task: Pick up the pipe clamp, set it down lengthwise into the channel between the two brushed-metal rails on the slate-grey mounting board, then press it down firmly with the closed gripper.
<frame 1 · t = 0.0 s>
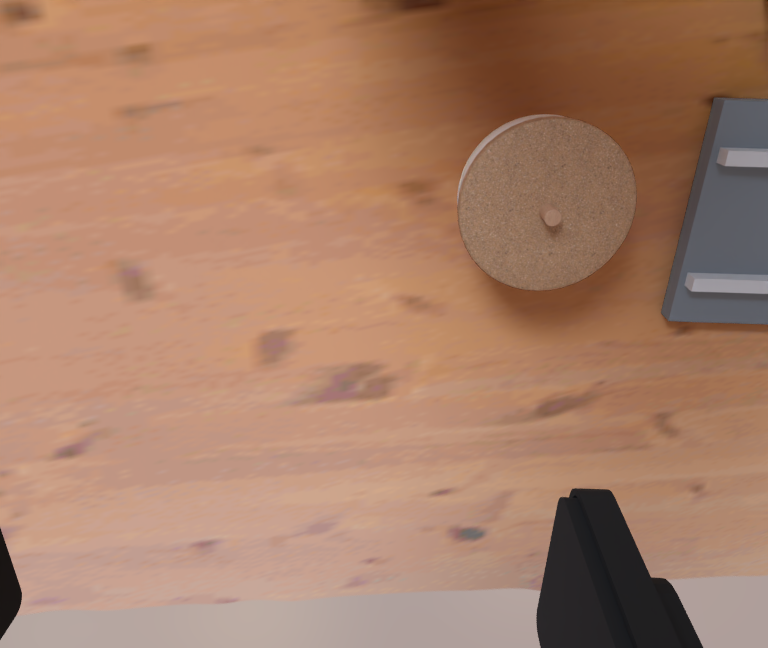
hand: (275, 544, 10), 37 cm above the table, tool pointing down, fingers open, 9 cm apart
lidded jar: (523, 180, 44), on the table
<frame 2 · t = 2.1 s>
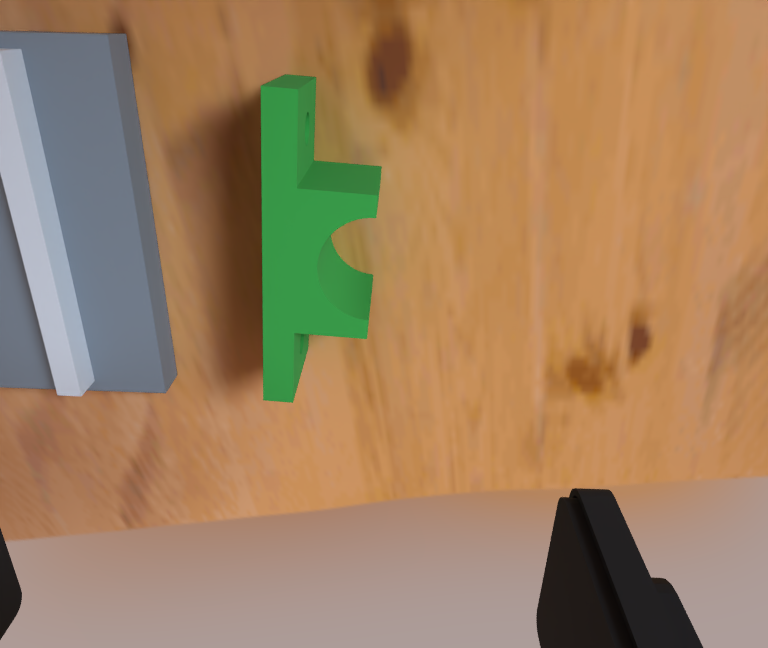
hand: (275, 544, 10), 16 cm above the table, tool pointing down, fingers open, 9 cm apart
pipe clamp: (328, 227, 25), on the table
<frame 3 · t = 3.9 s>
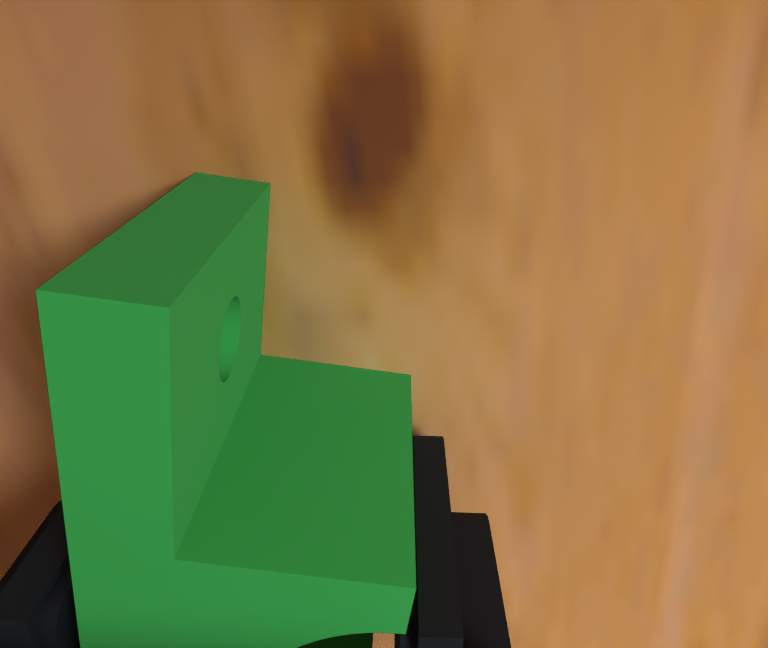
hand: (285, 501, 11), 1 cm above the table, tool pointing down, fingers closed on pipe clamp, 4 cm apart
pipe clamp: (287, 473, 12), on the table, touching gripper
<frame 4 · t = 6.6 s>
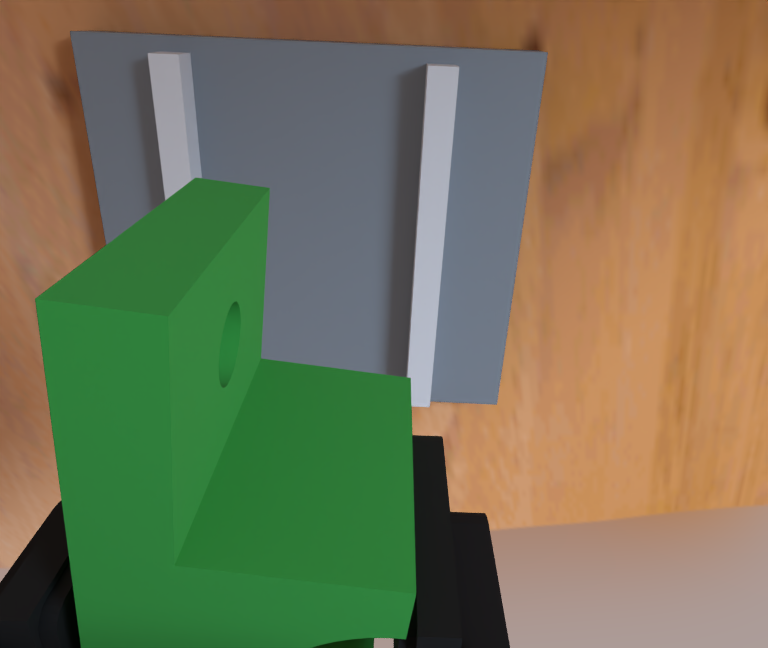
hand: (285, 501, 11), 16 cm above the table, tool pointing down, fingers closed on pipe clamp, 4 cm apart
rail board: (315, 230, 25), on the table
pipe clamp: (288, 476, 12), point 15 cm above the table, touching gripper
when the fingers open (4 cm above the table, at t = 9.2 s): pipe clamp drops 1 cm, resting on rail board.
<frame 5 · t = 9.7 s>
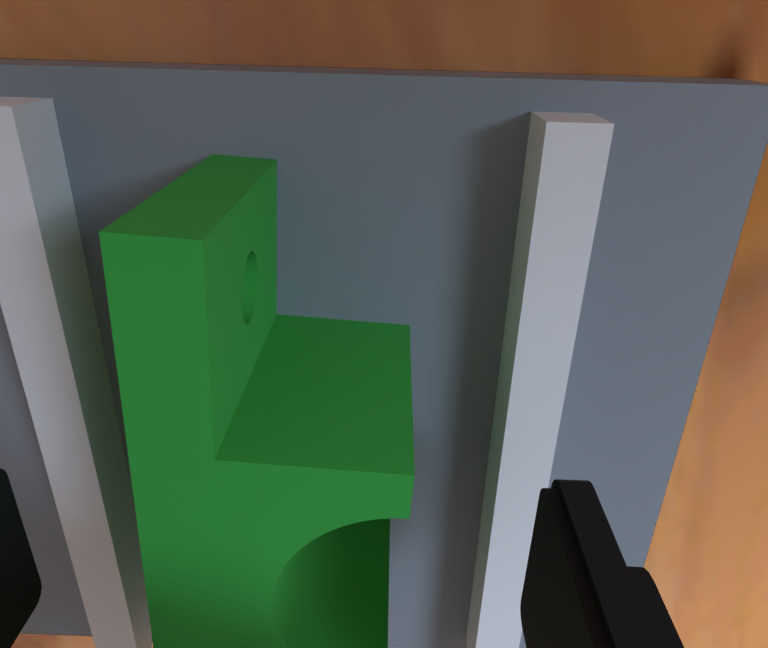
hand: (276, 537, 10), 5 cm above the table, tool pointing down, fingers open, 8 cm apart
rail board: (313, 388, 14), on the table
pipe clamp: (306, 424, 13), point 1 cm above the table, touching rail board
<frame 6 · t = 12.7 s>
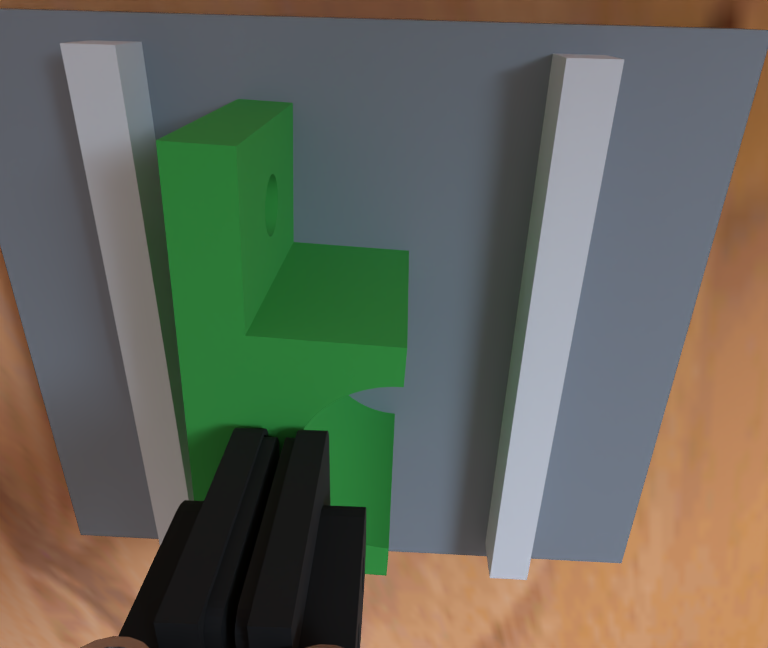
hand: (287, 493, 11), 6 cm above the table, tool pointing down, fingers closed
rail board: (352, 313, 16), on the table
pipe clamp: (320, 343, 15), point 1 cm above the table, touching gripper, rail board
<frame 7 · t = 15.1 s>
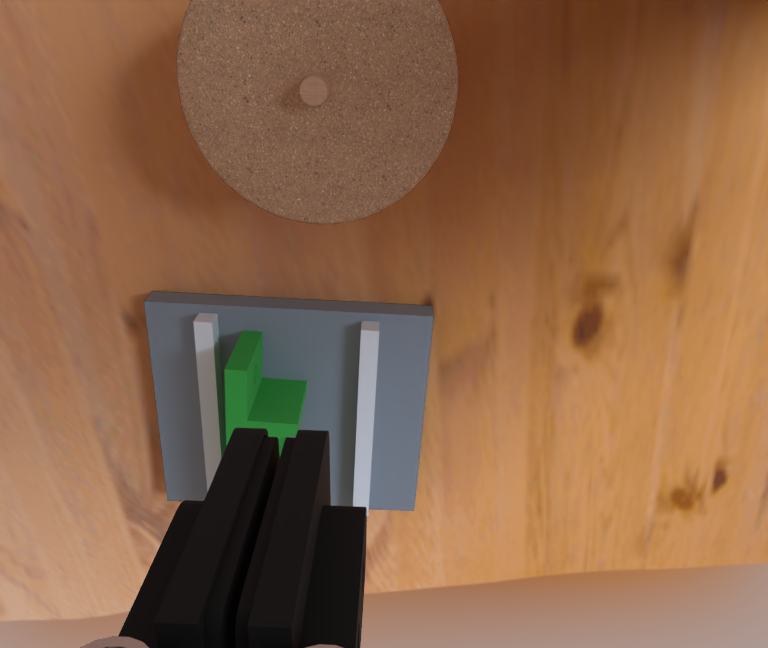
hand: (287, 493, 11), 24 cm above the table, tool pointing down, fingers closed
rail board: (293, 401, 38), on the table
pipe clamp: (273, 415, 37), point 1 cm above the table, touching rail board
lidded jar: (332, 75, 30), on the table
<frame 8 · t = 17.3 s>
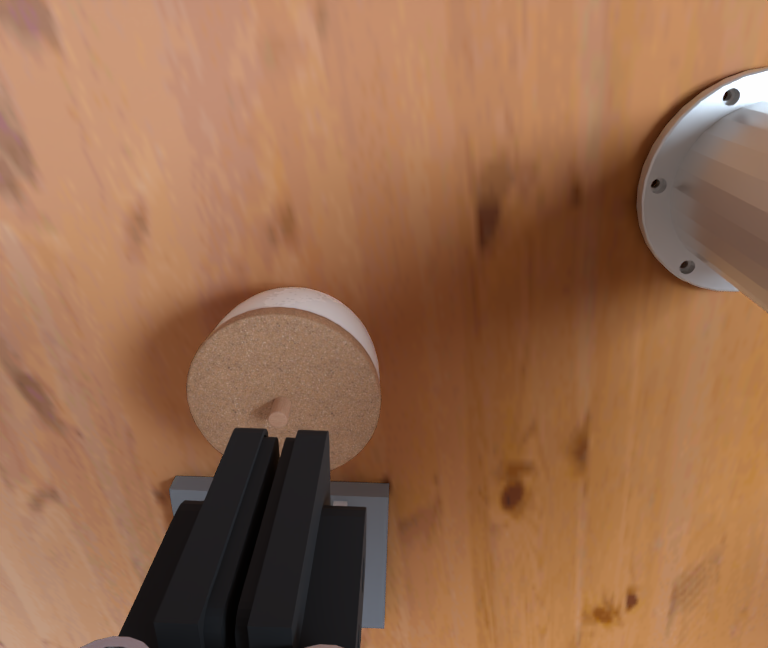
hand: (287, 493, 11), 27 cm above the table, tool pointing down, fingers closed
rail board: (286, 548, 49), on the table
lidded jar: (303, 336, 41), on the table
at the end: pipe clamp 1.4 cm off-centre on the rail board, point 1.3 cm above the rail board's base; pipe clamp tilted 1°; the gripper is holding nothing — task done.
